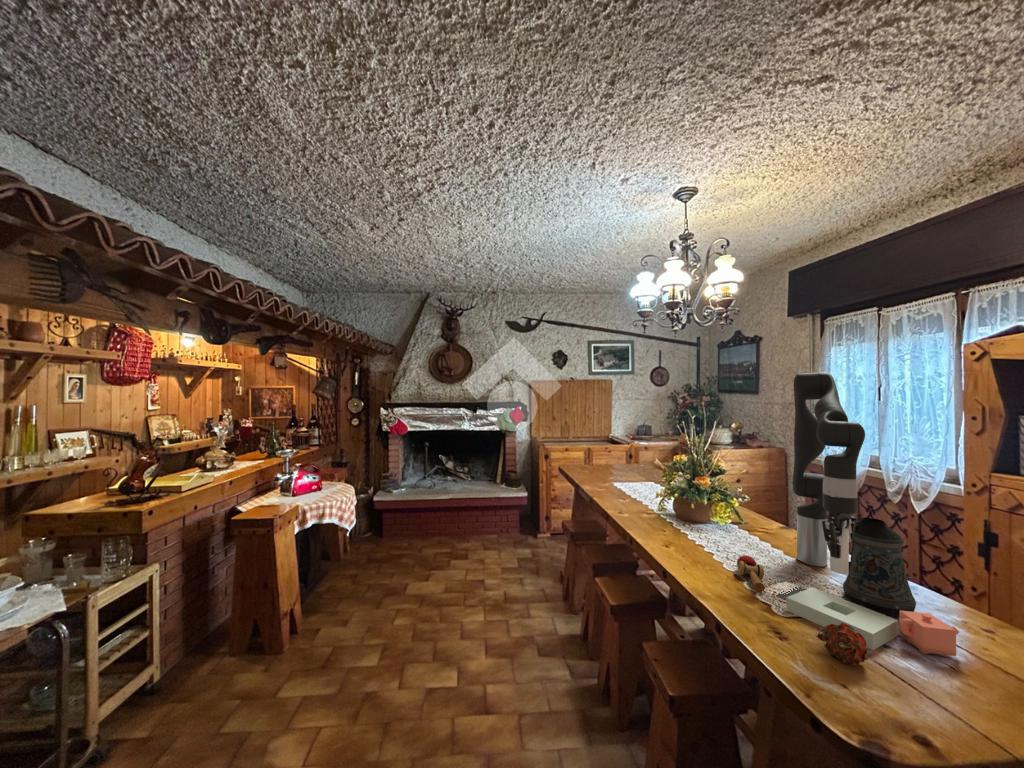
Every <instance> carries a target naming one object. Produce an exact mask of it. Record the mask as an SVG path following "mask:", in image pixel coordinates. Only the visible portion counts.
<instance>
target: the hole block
mask: <svg viewBox="0 0 1024 768" xmlns="http://www.w3.org/2000/svg"><path fill="white" fill-rule="evenodd" d="M806 589H807V590H804V591H801V592H799V593H796V594H794V595H791V596H788V597H786V600H785V601H786V602H785V605H786V607H785V610H786V611H788V612H790V613H792V614H794V615H797V616H798V617H801V618H803V619H805V620H808V621H809V622H812V623H814V624H817V625H818V626H821V627H823V628H824V629H825V628H826V626H827V625H830V624H834V625H840V624H841V623H845V624H847V625H849V626H851V627H852V628H853V629H854V631H855V632H856V633H860V634H861V635H862V636H863V637H864V639H865V640H866V643H867V644H866V647H865V648H866V649H868V650H871V651H874V650H876V649H878V648H880V647H881V646H883V645H885V644H886V643H888V642H890V641H891V640H893V639H894V638H896V637H898V636H899V620H898V619H895V618H894V617H889V616H886V615H885V614H881V613H878V612H875V611H873V610H870V609H867V608H865V607H862V606H860V605H857V604H854V603H853V602H851V601H850V600H848V599H847V600H846V599H844V598H841V597H839V596H835V595H834V594H832V593H831V594H830V593H828V592H826V591H823V590H820V589H818V588H815V587H809V588H806Z"/></svg>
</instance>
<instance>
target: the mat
mask: <svg viewBox="0 0 1024 768" xmlns="http://www.w3.org/2000/svg"><path fill="white" fill-rule="evenodd" d="M799 586H800V585H799ZM801 587H802V586H800V587H799V589H798V588H797V587H795V588H796V589H797V590H795V589H794V588H793V591H792V590H791V589H790V590H791V592H790V591H788V592H790V593H788V592H786V593H788V594H786V593H784V594H785V595H784V594H780V593H779V594H778V595H776V596H775V597H777V598H780V599H782V600H784V601H786V597H788V596H791V595H794V594H796V593H799V592H800V591H804V590H807V589H808V588H805V587H804V588H805V589H802V588H801ZM783 592H784V591H783ZM781 593H782V592H781Z"/></svg>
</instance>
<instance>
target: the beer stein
mask: <svg viewBox="0 0 1024 768" xmlns="http://www.w3.org/2000/svg"><path fill="white" fill-rule="evenodd" d="M851 541H852V546H851V547H852V548H851V554H850V560H849V574H847V576H846V578H845V580H844V581H843V584H842V589H843V593H844V595H845V598H846V599H847V601H849V602H852V603H854V604H857V605H860V606H862V607H865V608H867V609H870V610H873V611H875V612H878V613H880V614H883V615H886V616H888V617H891V618H893V619H895V618H897V619H899V618H900V610H901V611H910V612H915V610H916V606H917V600H916V598H915V597H914V595H913V593H912V589H911V587H910V583H909V581H908V576H907V573H906V572H907V571H906V567H905V562H904V557H903V553H902V548H903V546H904V543H905V542H904V541H905V540H904V539H903V538H902V536H901V535H900V534H899V533H897V532H896V531H895V530H893V529H892V528H891V527H890V526H888V525H887V524H886V523H885V521H884V520H882V519H878V518H873V517H872V518H871V517H862V518H861V520H859V521H858V520H856V526H855V533H854V538H853V539H851ZM827 550H828V551H829V552H830V542H828V541H827Z"/></svg>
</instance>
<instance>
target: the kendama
mask: <svg viewBox="0 0 1024 768" xmlns="http://www.w3.org/2000/svg"><path fill="white" fill-rule="evenodd" d="M736 564H737V573H738V575H740V576H744V575H749V577H750V579H751V582H752V585H753V588H754V590H755V591H757V592H759V593H761V592H765V591H764V589H765V587H766V586H765V584H764V583H763V582H762V580H763V579H764V575H765V570H764V569H765V568H764V566H763V564H757V562H756V560H755V559H754V558H753V557H752V556H751V555H750V556H749V555H744V554H743V555H741V556H739V557H738V559H737V561H736Z"/></svg>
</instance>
